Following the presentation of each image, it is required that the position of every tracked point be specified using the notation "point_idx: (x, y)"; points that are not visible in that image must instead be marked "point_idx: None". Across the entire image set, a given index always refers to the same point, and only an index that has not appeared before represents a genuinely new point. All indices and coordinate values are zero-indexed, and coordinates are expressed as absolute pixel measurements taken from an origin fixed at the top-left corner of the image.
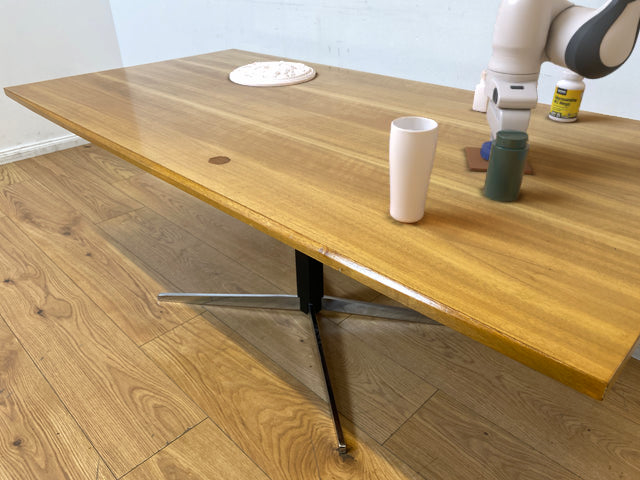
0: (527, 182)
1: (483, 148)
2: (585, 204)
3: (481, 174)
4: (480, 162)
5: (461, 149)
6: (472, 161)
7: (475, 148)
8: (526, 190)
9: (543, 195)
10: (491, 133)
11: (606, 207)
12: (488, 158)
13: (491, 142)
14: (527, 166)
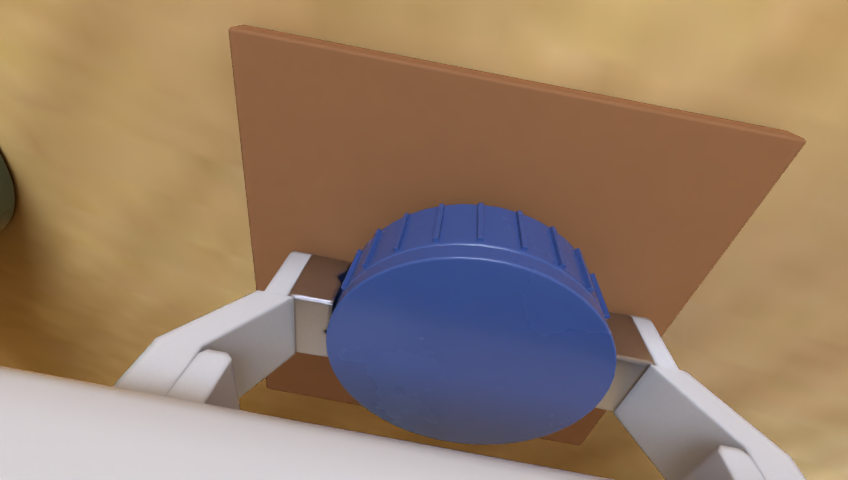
0: (158, 326)
1: (449, 252)
2: None
3: (192, 109)
4: (370, 162)
5: (816, 91)
6: (393, 95)
7: (715, 219)
8: (48, 290)
9: (30, 333)
10: (727, 434)
11: None
12: (374, 238)
13: (579, 359)
14: (324, 391)
